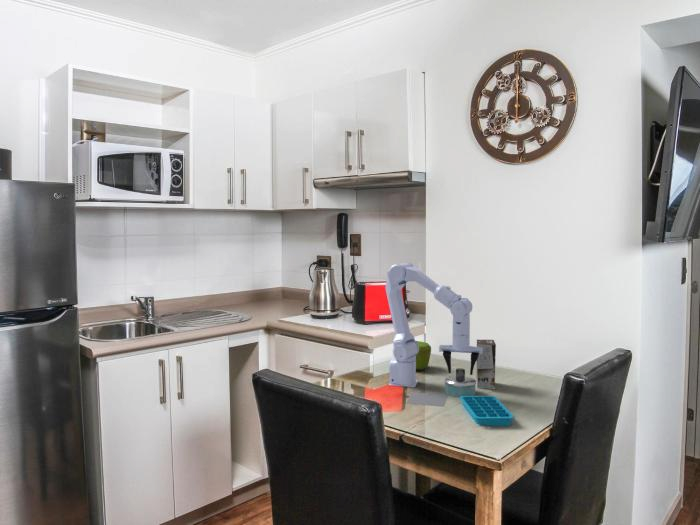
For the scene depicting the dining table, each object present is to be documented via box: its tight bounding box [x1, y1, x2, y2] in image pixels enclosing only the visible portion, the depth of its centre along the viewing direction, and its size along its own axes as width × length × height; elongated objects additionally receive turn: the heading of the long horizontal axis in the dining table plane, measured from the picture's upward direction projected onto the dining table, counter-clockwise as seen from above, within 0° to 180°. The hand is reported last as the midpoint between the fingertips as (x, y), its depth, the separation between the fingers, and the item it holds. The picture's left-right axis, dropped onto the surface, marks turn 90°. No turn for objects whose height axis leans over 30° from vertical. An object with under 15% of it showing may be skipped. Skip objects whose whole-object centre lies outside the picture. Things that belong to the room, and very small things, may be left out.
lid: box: [444, 367, 477, 387], centre depth 185 cm, size 10×10×5 cm
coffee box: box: [475, 339, 497, 390], centre depth 195 cm, size 9×6×16 cm
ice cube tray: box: [459, 395, 515, 427], centre depth 165 cm, size 12×20×3 cm, turn 2°
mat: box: [405, 391, 448, 407], centre depth 179 cm, size 12×12×1 cm
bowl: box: [444, 382, 476, 398], centre depth 186 cm, size 10×10×4 cm
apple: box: [415, 340, 432, 371], centre depth 219 cm, size 12×12×11 cm
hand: (460, 373), depth 185 cm, fingers open, 7 cm apart
